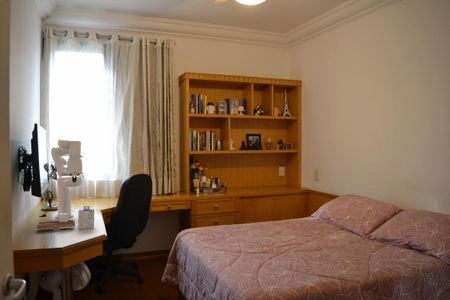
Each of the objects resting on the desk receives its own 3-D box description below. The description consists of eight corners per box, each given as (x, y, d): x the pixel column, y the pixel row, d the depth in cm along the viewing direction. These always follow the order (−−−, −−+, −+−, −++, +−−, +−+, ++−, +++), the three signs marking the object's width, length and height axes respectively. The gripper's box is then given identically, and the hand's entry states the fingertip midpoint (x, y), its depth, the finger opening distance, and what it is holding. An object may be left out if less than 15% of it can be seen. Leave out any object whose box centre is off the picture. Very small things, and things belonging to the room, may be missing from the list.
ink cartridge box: (94, 226, 233) (94, 205, 233) (93, 228, 228) (94, 207, 228) (78, 227, 230) (79, 206, 230) (77, 229, 225) (78, 207, 225)
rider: (59, 222, 226) (59, 213, 225) (67, 221, 228) (67, 212, 228) (59, 223, 222) (59, 214, 222) (68, 223, 224) (68, 214, 224)
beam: (37, 229, 222) (37, 221, 222) (74, 226, 232) (74, 219, 232) (37, 232, 214) (37, 224, 214) (75, 229, 224) (75, 222, 224)
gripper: (85, 156, 249) (85, 181, 249) (63, 156, 243) (62, 182, 243) (86, 157, 243) (85, 182, 243) (63, 157, 236) (62, 183, 236)
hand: (74, 182), depth 243 cm, fingers closed
